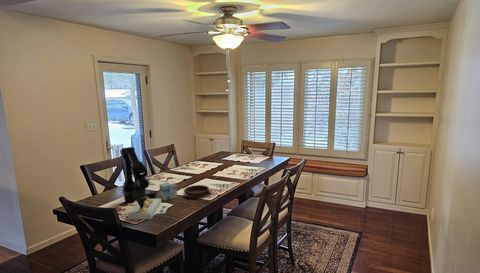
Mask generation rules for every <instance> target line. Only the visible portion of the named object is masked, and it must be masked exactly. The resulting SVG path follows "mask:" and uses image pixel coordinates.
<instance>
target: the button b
mask: <svg viewBox="0 0 480 273" xmlns="http://www.w3.org/2000/svg"><path fill="white" fill-rule="evenodd" d="M143 207H145V208H148V207H149V202H148V201H145V203H144V206H143Z"/></svg>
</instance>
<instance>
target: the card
mask: <svg viewBox="0 0 480 273" xmlns="http://www.w3.org/2000/svg"><path fill="white" fill-rule="evenodd" d="M168 208H169V205H160V206H159V208H158V209H157V211H156V215H158V214H160V215H161V214H162V215H163V214H165V213H166V212H167V210H168Z"/></svg>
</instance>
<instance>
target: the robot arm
mask: <svg viewBox="0 0 480 273" xmlns="http://www.w3.org/2000/svg"><path fill="white" fill-rule="evenodd" d="M119 153H120V156H121V158H122V159H123V160H124V162H123V163H124V173H125V174H124V175H125V176H124V177H125V181H124V182H123V186H122V191H121V192H122V194H123V196H124V197H123V198H124V204H133V203H135V202H137V203H138V204H139V206H140V208H141V209H143V206H144V203H145V200H146V199H147V198H149V199H157V196H158V192H157V191H156V190H155V191H150V192H149V193H147V191H146V189H147V188H149V186H150V182H149V180H148V179H146V177H148V170H147V167H146V166H145V165H144V163H143V162H142V161H140V160H139V158H138V156H137V153H136V149H135V147H133V146H129V147H122V148H121V149H120V150H119ZM133 178H134V179H133Z"/></svg>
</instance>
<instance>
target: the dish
mask: <svg viewBox="0 0 480 273" xmlns="http://www.w3.org/2000/svg"><path fill="white" fill-rule="evenodd" d="M209 190H210V187H209V186H208V185H203V184H202V185H200V184H198V185H197V184H196V185H190V186H187V187H185V188H184V190H183V192H184V194H185V195H186V196H187V198H191V199H192V198H193V199H197V198H203V197H204V196H211V193H212V192H211V191H209Z"/></svg>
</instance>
